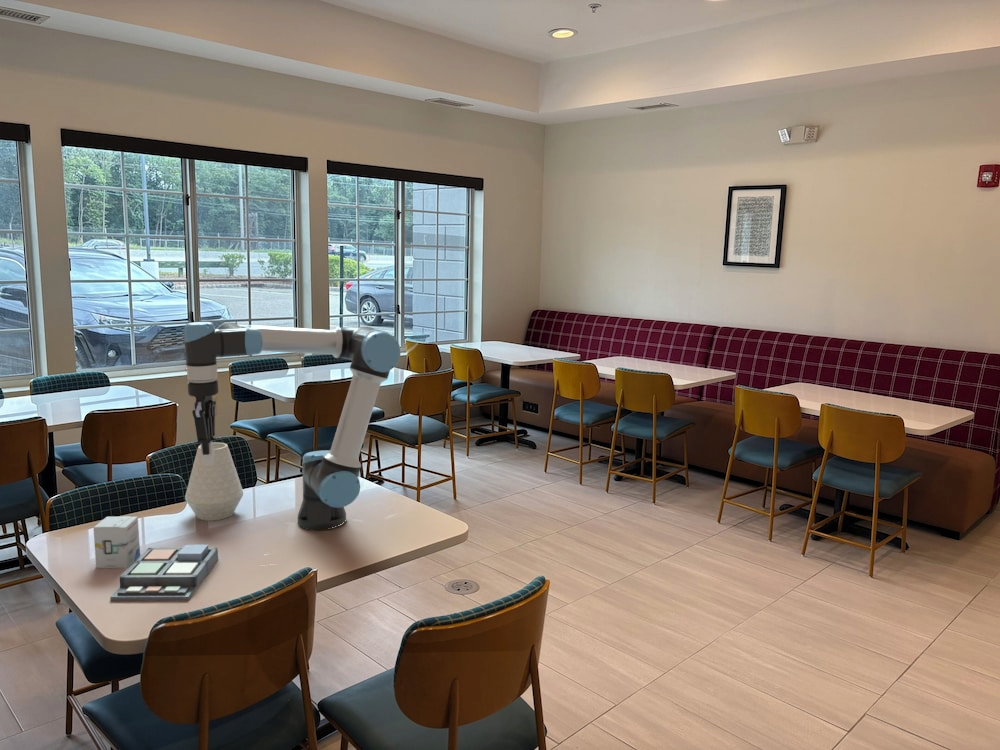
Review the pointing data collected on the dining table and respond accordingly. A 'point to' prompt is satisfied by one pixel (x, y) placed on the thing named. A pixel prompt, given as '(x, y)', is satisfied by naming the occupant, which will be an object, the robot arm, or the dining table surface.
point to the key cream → (182, 569)
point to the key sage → (148, 569)
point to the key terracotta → (160, 555)
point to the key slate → (193, 553)
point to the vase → (214, 486)
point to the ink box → (116, 542)
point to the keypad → (163, 580)
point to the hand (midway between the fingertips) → (208, 464)
